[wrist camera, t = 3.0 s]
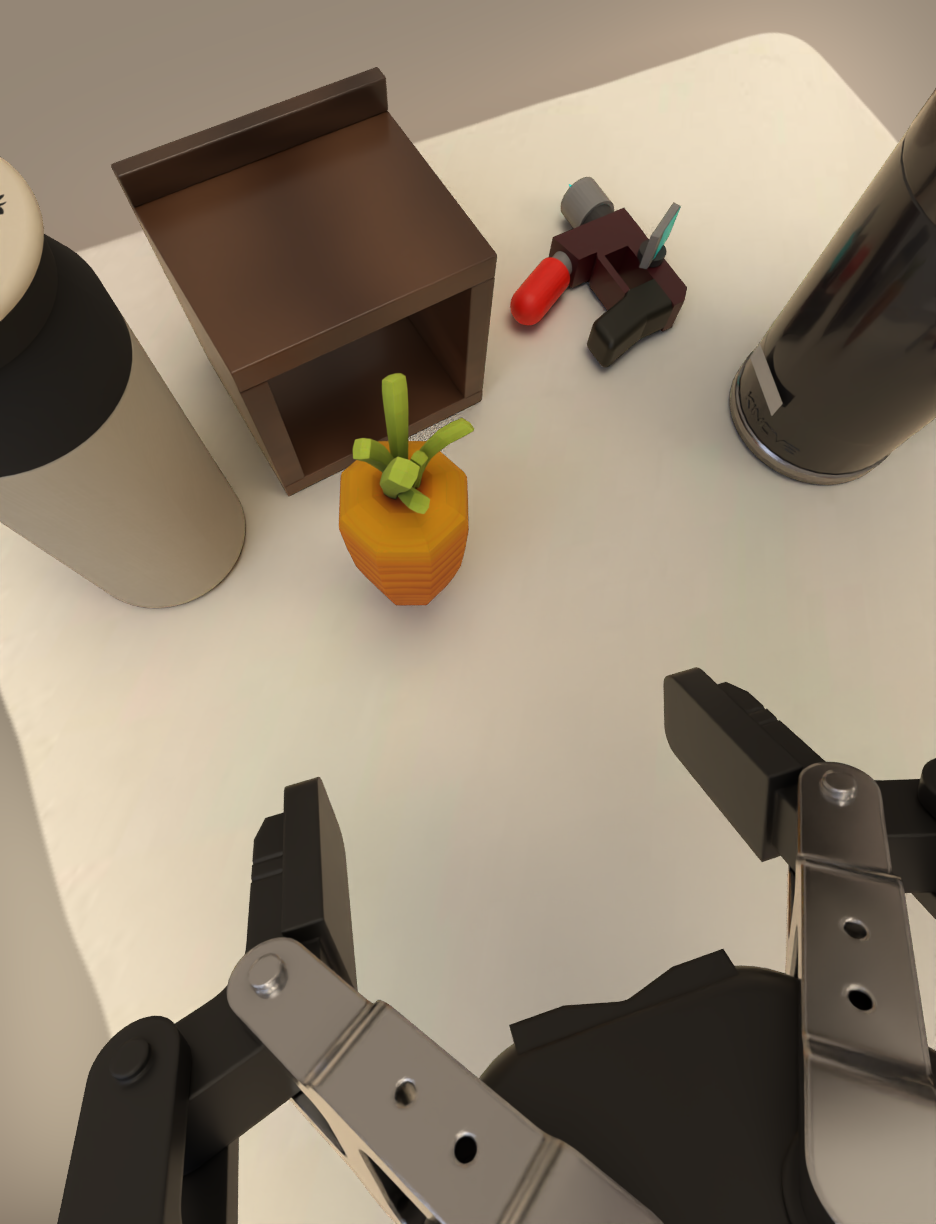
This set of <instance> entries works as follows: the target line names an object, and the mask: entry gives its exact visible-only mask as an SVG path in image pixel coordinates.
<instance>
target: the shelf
mask: <svg viewBox="0 0 936 1224" xmlns="http://www.w3.org/2000/svg"><path fill="white" fill-rule="evenodd" d="M387 110H388V103H387V88H386V78H385V76H384V75H383V73H382V72H381V71H380V70H379V68H377V67H375V68H373V69H370V70H367V71H365V72H362V73H359V74H356V75H353V76H351V77H348V78H345V79H343V80H340V81H337V82H334V83H332V84H329V85H326V86H323V87H321V88H318V89H315V90H312V91H310V92H307V93H305V94H302V95H299V96H296V97H293V98H291V99H288V100H285V101H282V102H280V103H277V104H274V105H272V106H269V107H266V108H263V109H260V110H258V111H255V112H252V113H250V114H247V115H244V116H242V117H239V118H236V119H234V120H231V121H228V122H225V123H222V124H220V125H217V126H214V127H211V128H209V129H206V130H203V131H201V132H198V133H195V134H192V135H189V136H187V137H184V138H181V139H179V140H176V141H173V142H170V143H168V144H165V145H162V146H159V147H157V148H154V149H151V150H148V151H146V152H143V153H140V154H138V155H135V156H132V157H129V158H127V159H124V160H121V161H118V162H116V163H113V164H112V165H111V167H112V170H113V171H114V173H115V175H116V177H117V179H118V181H119V183H120V185H121V187H122V189H123V191H124V193H125V195H126V197H127V199H128V201H129V203H130V205H131V207H132V209H133V211H134V213H135V215H136V217H137V219H138V221H139V223H140V225H141V227H142V229H143V231H144V233H145V235H146V237H147V239H148V241H149V243H150V245H151V247H152V249H153V251H154V253H155V255H156V257H157V259H158V261H159V263H160V265H161V266H162V268H163V270H164V272H165V274H166V276H167V278H168V280H169V282H170V284H171V286H172V288H173V290H174V292H175V294H176V296H177V298H178V300H179V302H180V304H181V306H182V308H183V310H184V312H185V314H186V316H187V318H188V320H189V322H190V324H191V326H192V328H193V330H194V332H195V334H196V336H197V338H198V340H199V342H200V344H201V346H202V348H203V350H204V352H205V353H206V355H207V357H208V359H209V361H210V363H211V364H212V366H213V368H214V370H215V371H216V373H217V375H218V376H219V378H220V380H221V382H222V383H223V385H224V387H225V388H226V390H227V392H228V394H229V395H230V397H231V399H232V400H233V402H234V404H235V406H236V407H237V409H238V411H239V412H240V414H241V416H242V418H243V419H244V421H245V423H246V424H247V426H248V428H249V430H250V431H251V433H252V435H253V436H254V438H255V440H256V442H257V443H258V445H259V447H260V448H261V450H262V452H263V454H264V455H265V457H266V459H267V460H268V462H269V464H270V466H271V467H272V469H273V471H274V473H275V474H276V476H277V478H278V479H279V481H280V483H281V485H282V486H283V488H284V490H285V491H286V493H287V495H288V496H290V495H292V494H294V493H296V492H298V491H301V490H303V489H305V488H307V487H309V486H311V485H313V484H315V483H317V482H319V481H321V480H323V479H325V478H327V477H329V476H331V475H333V474H335V473H337V472H339V471H341V470H343V469H345V468H347V467H349V466H350V465H351V464H352V463H354V462H355V461H356V459H353V446H354V442H355V440H356V439H360V438H366V439H372V440H375V441H377V442H378V441H388V434H387V427H386V420H385V412H384V404H383V396H382V380H383V379H384V378H385V377H387V376H388V375H392V374H395V373H401V374H403V375H404V376H406V382H407V389H408V437H409V436H411V435H413V434H415V433H417V432H419V431H421V430H423V429H425V428H427V427H429V426H431V425H433V424H435V423H437V422H439V421H441V420H443V419H445V418H447V417H449V416H451V415H453V414H455V413H457V412H459V411H461V410H463V409H465V408H467V407H469V406H471V405H474V404H476V403H478V402H480V401H481V398H482V388H483V379H484V370H485V361H486V352H487V343H488V334H489V325H490V316H491V306H492V297H493V288H494V279H495V278H494V276H495V269H496V260H497V254H496V253H495V251H494V250H493V249H492V247H491V246H490V245H489V243H488V242H487V241H486V239H485V238H484V237H483V236H482V234H481V233H480V232H479V230H478V229H477V228H476V226H475V225H474V224H473V222H472V221H471V220H470V218H469V217H468V216H467V215H466V213H465V212H464V211H463V209H462V208H461V207H460V205H459V204H458V203H457V201H456V200H455V199H454V197H453V196H452V195H451V193H450V192H449V191H448V190H447V188H446V187H445V186H444V184H443V183H442V182H441V180H440V179H439V178H438V176H437V175H436V174H435V172H434V171H433V170H432V169H431V167H430V166H429V165H428V163H427V162H426V161H425V159H424V158H423V157H422V155H421V154H420V153H419V151H418V150H417V149H416V148H415V146H414V145H413V144H412V142H411V141H410V140H409V138H408V137H407V136H406V134H405V133H404V132H403V131H402V129H401V128H400V127H399V125H398V124H397V123H396V121H395V120H394V119H393V117H392V116H391V115H390V113H389V112H388V111H387Z"/></svg>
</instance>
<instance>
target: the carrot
mask: <svg viewBox="0 0 936 1224" xmlns="http://www.w3.org/2000/svg"><path fill="white" fill-rule="evenodd" d="M382 396H383V404H384V412H385V420H386V427H387V434H388V441H378V442H377V441H375V440H372V439H366V438H360V439H356V440H355V442H354V446H353V459H356V461H355V462H354V463H352V464H351V465H350V466H349V467H348V468H347V469H345V470H344V471H343V472H342V474H341V481H340V507H339V530H340V532H341V535H342V537H343V540H344V542H345V544H346V547H347V549H348V551H349V553H350V555H351V557H352V559H353V561H354V563H355V565H356V567H357V568H358V569H359V570H360V571H361V572H362V573H363V574H364V575H365V576H366V577H367V578H368V579H369V580H370V581H371V582H372V583H373V584H374V585H375V586H376V587H377V588H378V589H379V590H380V591H381V592H382V593H383V594H385V595H386V596H387V597H388V598H389V599H390V600H391V601H392V602H393V603H394V604H395V605H427V604H428V603H429V602H430V601H431V600H432V599H433V598H434V597H435V596H436V595H437V594H438V593H439V592H441V591H442V590H443V589H444V588H445V587H446V586H447V585H448V583H449V582H450V581H451V580H452V578H453V577H454V576H455V574H456V573H457V571H458V569H459V568H460V566H461V563H462V559H463V555H464V551H465V547H466V541H467V535H468V530H469V528H468V490H467V476H466V475H465V473H464V472H463V471H462V470H461V469H460V468H458V467H457V466H456V465H455V464H454V463H453V462H452V461H451V460H449V459H448V458H447V457H446V456H445V455H444V454H443V453H441V452H440V450H442V449H443V448H445V447H446V446H447V445H449V444H450V443H452V442H454V441H456V440H458V439H460V438H462V437H464V436H466V435H467V434H469V433H471V432H473V431H474V428H473V426H472V425H471V423H469V422H468V421H466V420H465V419H463V418H460V419H458V420H456V421H453V422H451V423H449V424H448V425H446V426H444V427H442V428H441V429H439V430H438V431H437V432H436V433H435V434H434V435H433V436H432V437H431V438H429V439H428V440H427V441H408V389H407V382H406V376H404V375H403V374H401V373H395V374H392V375H388V376H387V377H385V378H384V379H383V380H382Z"/></svg>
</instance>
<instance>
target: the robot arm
mask: <svg viewBox="0 0 936 1224" xmlns="http://www.w3.org/2000/svg"><path fill="white" fill-rule="evenodd" d="M730 409H731V415H732V419H733V422H734V424H735V427H736V429H737V431H738V433H739V435H740V437H741V438H742V440H743V441H744V443H745V444H746V445H747V447H748V448H749V449H750V450H751V451H752V452H753V453H754V454H755V455H756V456H757V457H758V458H759V459H760V460H761V461H762V462H764V463H765V464H766V465H768V466H769V467H771V468H772V469H774V470H776V471H777V472H779V473H781V474H783V475H785V476H787V477H790V478H793V479H795V480H798V481H802V482H806V483H811V484H820V485H832V484H840V483H846V482H849V481H852V480H855V479H858V478H860V477H862V476H863V475H865V474H867V473H868V472H870V471H871V470H872V469H874V468H875V467H876V466H877V465H879V464H880V463H881V462H882V461H884V460H885V459H886V458H887V457H888V456H889V455H890V453H891V452H892V451H894V450H895V449H896V448H897V447H899V446H900V445H901V444H902V443H904V442H905V441H906V440H908V439H909V438H910V437H911V436H913V435H914V434H915V433H917V432H918V431H920V430H921V429H922V428H923V427H925V426H926V425H927V424H928V423H930V422H931V421H932V420H934V419H935V418H936V89H935V90H934V92H933V93H932V95H931V96H930V98H929V99H928V100H927V102H926V103H925V105H924V106H923V108H922V109H921V110H920V112H919V113H918V115H917V116H916V118H915V119H914V120H913V122H912V124H911V126H910V127H909V128H908V130H907V131H906V133H905V134H904V136H903V137H902V138H901V140H900V141H899V143H898V144H897V146H896V147H895V149H894V150H893V151H892V153H891V154H890V156H889V157H888V159H887V160H886V161H885V163H884V164H883V166H882V167H881V169H880V170H879V172H878V173H877V174H876V176H875V177H874V179H873V180H872V182H871V183H870V185H869V186H868V187H867V189H866V190H865V192H864V193H863V195H862V196H861V198H860V199H859V200H858V202H857V203H856V205H855V206H854V208H853V209H852V211H851V212H850V213H849V215H848V216H847V218H846V219H845V221H844V222H843V223H842V225H841V226H840V228H839V229H838V231H837V232H836V234H835V235H834V236H833V238H832V239H831V241H830V242H829V244H828V245H827V247H826V248H825V249H824V251H823V252H822V254H821V255H820V257H819V258H818V260H817V261H816V262H815V264H814V265H813V267H812V268H811V270H810V271H809V273H808V274H807V275H806V277H805V278H804V280H803V281H802V283H801V284H800V285H799V287H798V288H797V290H796V291H795V293H794V294H793V296H792V297H791V298H790V300H789V301H788V303H787V304H786V306H785V307H784V309H783V310H782V311H781V313H780V314H779V316H778V317H777V319H776V320H775V321H774V323H773V324H772V325H771V327H770V328H769V330H768V331H767V333H766V334H765V336H764V337H763V339H762V340H761V342H760V343H759V344H758V346H757V347H756V349H755V350H753V351H752V352H751V353H750V355H749V356H748V357H747V358H746V360H745V361H744V363H743V364H742V366H741V367H740V369H739V370H738V372H737V373H736V375H735V378H734V380H733V383H732V386H731V391H730ZM664 726H665V733H666V737H667V740H668V743H669V745H670V747H671V749H672V751H673V753H674V754H675V755H676V757H677V758H678V759H679V760H680V761H681V763H682V764H683V765H684V766H685V768H686V769H687V770H688V771H689V773H690V774H691V775H692V776H693V778H694V779H695V780H696V781H697V782H698V784H699V785H700V786H701V787H702V789H703V790H704V791H705V792H706V794H707V795H708V796H709V797H710V799H711V800H712V801H713V802H714V804H715V805H716V806H717V807H718V808H719V810H720V811H721V812H722V813H723V815H724V816H725V817H726V818H727V820H728V821H729V822H730V823H731V825H732V826H733V827H734V828H735V830H736V831H737V832H738V833H739V834H740V836H741V837H742V838H743V839H744V841H745V842H746V843H747V844H748V846H749V847H750V848H751V849H752V851H753V852H754V853H755V854H756V856H757V857H758V858H759V859H760V860H761V862H764V861H766V860H769V859H772V858H775V857H778V856H782V858H783V859H784V860H785V861H786V862H787V864H788V874H787V935H786V966H785V973H782V972H778V971H775V970H771V969H767V968H761V967H755V966H734V965H733V963H732V962H731V960H730V959H729V957H728V956H727V954H726V952H725V951H724V949H721V950H718V951H716V952H713V953H710V954H707V955H704V956H701V957H699V958H696V959H693V960H690V961H687V962H685V963H682V964H679V965H676V966H673V967H672V968H670V969H669V970H667V971H666V972H665V973H663V974H662V975H661V976H659V977H658V978H657V979H655V980H654V981H653V982H651V983H650V984H648V985H647V986H646V987H644V988H643V989H642V990H640V991H639V992H638V993H636V994H635V995H634V996H632V997H631V998H629V999H627V1000H625V1001H620V1002H608V1003H594V1004H580V1005H566V1006H561V1007H559V1008H556V1009H553V1010H550V1011H547V1012H545V1013H542V1014H539V1015H536V1016H533V1017H531V1018H528V1019H525V1020H522V1021H519V1022H517V1023H514V1024H511V1025H509V1026H510V1030H511V1034H512V1038H513V1042H514V1044H512V1045H511V1046H510V1047H508V1048H507V1049H506V1050H504V1051H503V1052H502V1053H501V1054H500V1055H499V1056H498V1057H497V1058H496V1059H495V1060H494V1061H492V1063H491V1064H490V1065H489V1066H488V1068H487V1069H486V1070H485V1071H484V1072H483V1074H482V1075H481V1077H480V1078H478V1077H476V1076H475V1075H474V1074H473V1073H472V1072H470V1071H469V1070H468V1069H467V1068H465V1067H464V1066H463V1065H462V1064H461V1063H459V1062H458V1061H457V1060H456V1059H455V1058H453V1057H452V1056H451V1055H450V1054H449V1053H447V1052H446V1051H445V1050H444V1049H443V1048H441V1047H440V1046H439V1045H438V1044H436V1043H435V1042H434V1041H433V1040H432V1039H430V1038H429V1037H428V1036H427V1035H426V1034H424V1033H423V1032H422V1031H421V1030H420V1029H418V1028H417V1027H416V1026H415V1025H414V1024H412V1023H411V1022H410V1021H409V1020H407V1019H406V1018H405V1017H404V1016H403V1015H401V1014H400V1013H399V1012H398V1011H397V1010H395V1009H394V1008H393V1007H392V1006H390V1005H389V1004H387V1003H386V1002H384V1001H381V1000H377V1001H376V1002H375V1003H371V1002H370V1001H368V1000H367V999H366V998H364V997H363V996H362V995H361V994H360V993H359V992H358V990H357V979H356V967H355V956H354V945H353V933H352V922H351V911H350V900H349V888H348V877H347V866H346V855H345V848H344V843H343V838H342V834H341V831H340V827H339V824H338V822H337V819H336V817H335V814H334V811H333V809H332V806H331V803H330V801H329V798H328V795H327V793H326V790H325V787H324V785H323V782H322V780H321V778H320V777H317V778H313V779H310V780H306V781H303V782H300V783H296V784H293V785H289V786H286V787H285V789H284V813H281V814H277V815H274V816H271V817H267V818H265V820H264V822H263V824H262V826H261V827H260V829H259V831H258V833H257V835H256V837H255V839H254V848H253V865H252V875H251V879H252V883H251V889H250V902H249V916H248V929H247V943H246V951H245V955H244V956H243V957H242V958H241V959H240V961H239V962H238V963H237V965H236V966H235V968H234V970H233V971H232V973H231V976H230V978H229V981H228V985H227V986H226V987H225V988H224V990H223V991H221V992H220V993H219V994H218V995H217V996H216V997H214V998H213V999H212V1000H210V1001H209V1002H207V1003H206V1004H204V1005H203V1006H201V1007H200V1008H198V1009H197V1010H195V1011H194V1012H192V1013H191V1014H189V1015H188V1016H186V1017H184V1018H183V1019H181V1020H180V1021H178V1022H177V1023H175V1024H174V1023H173V1022H172V1021H171V1020H169V1019H168V1018H166V1017H162V1016H150V1017H145V1018H142V1019H139V1020H137V1021H135V1022H133V1023H131V1024H129V1025H128V1026H126V1027H124V1028H123V1029H122V1030H121V1031H119V1032H118V1033H117V1034H116V1035H115V1036H114V1037H113V1038H111V1039H110V1040H109V1042H108V1043H107V1044H106V1045H105V1046H104V1047H103V1049H102V1050H101V1052H100V1053H99V1054H98V1056H97V1058H96V1059H95V1061H94V1063H93V1065H92V1067H91V1070H90V1072H89V1075H88V1079H87V1083H86V1088H85V1092H84V1097H83V1102H82V1107H81V1112H80V1117H79V1121H78V1126H77V1131H76V1136H75V1141H74V1146H73V1150H72V1155H71V1160H70V1165H69V1170H68V1174H67V1179H66V1184H65V1189H64V1194H63V1199H62V1204H61V1208H60V1213H59V1218H58V1223H57V1224H238V1155H239V1137H240V1136H241V1135H242V1134H244V1133H245V1132H246V1131H248V1130H249V1129H250V1128H252V1127H253V1126H254V1125H256V1124H257V1123H258V1122H260V1121H261V1120H262V1119H264V1118H265V1117H266V1116H268V1115H269V1114H270V1113H272V1112H273V1111H274V1110H276V1109H277V1108H278V1107H279V1106H281V1105H282V1104H283V1103H285V1102H286V1101H287V1100H290V1101H291V1102H292V1103H293V1105H294V1106H295V1107H296V1108H297V1109H298V1110H299V1111H300V1112H301V1113H302V1115H303V1116H304V1117H305V1118H306V1119H307V1120H308V1121H309V1122H310V1123H311V1125H312V1126H313V1127H314V1128H315V1129H316V1130H317V1131H318V1132H319V1133H320V1135H321V1136H322V1137H323V1138H324V1139H325V1140H326V1141H327V1142H328V1144H329V1145H330V1146H331V1147H332V1148H333V1149H334V1150H335V1151H336V1152H337V1154H338V1155H339V1156H340V1157H341V1158H342V1159H343V1160H344V1161H345V1162H346V1164H347V1165H348V1166H349V1167H350V1168H351V1169H352V1171H353V1172H354V1173H355V1174H356V1176H357V1177H358V1178H359V1179H360V1181H361V1182H362V1183H363V1185H364V1186H365V1188H366V1189H367V1190H368V1192H369V1193H370V1194H371V1195H372V1197H373V1198H374V1199H375V1200H376V1202H377V1203H378V1204H379V1205H380V1207H381V1208H382V1209H383V1210H384V1211H385V1212H386V1214H387V1215H388V1216H389V1217H390V1218H391V1219H392V1220H393V1221H394V1223H395V1224H936V1051H935V1050H934V1049H932V1048H930V1047H928V1044H927V1037H926V1031H925V1024H924V1018H923V1011H922V1004H921V998H920V991H919V985H918V978H917V972H916V965H915V958H914V952H913V945H912V939H911V932H910V925H909V919H908V912H907V906H906V899H905V893H912V894H913V895H914V897H915V898H916V899H917V900H918V901H919V902H920V903H921V904H922V905H923V906H924V907H925V908H926V909H927V911H928V912H929V913H930V914H931V915H932V916H933V917H934V918H935V919H936V758H935V759H933V760H931V761H929V762H927V763H926V764H925V765H924V767H923V770H922V774H921V778H920V779H908V780H883V781H882V780H873V779H872V778H871V777H870V776H869V775H867V774H866V773H865V772H863V771H861V770H859V769H857V768H855V767H852V766H850V765H846V764H842V763H837V762H825V761H824V760H823V759H822V758H821V757H820V756H819V755H818V754H817V753H815V752H814V751H813V750H812V749H811V748H810V747H809V746H808V745H807V744H805V743H804V742H803V741H802V740H801V739H800V738H799V737H798V736H797V735H795V734H794V733H793V732H792V731H791V730H790V729H789V728H788V727H787V726H785V725H784V724H783V723H782V722H781V721H780V720H779V721H778V720H777V718H776V717H775V716H774V715H773V714H772V713H771V712H770V711H769V710H768V709H764V706H763V705H762V704H761V703H760V702H759V701H758V700H756V699H755V698H754V697H753V696H752V695H751V694H750V693H749V692H747V691H745V690H743V689H741V688H738V687H736V686H734V685H732V684H730V683H727V682H724V683H721V684H716V683H715V682H714V681H713V680H712V679H711V678H710V677H709V676H708V675H707V674H706V673H705V672H704V671H703V670H701V669H700V668H697V667H696V668H692V669H689V670H685V671H682V672H678V673H675V674H672V675H668V676H666V677H665V679H664Z"/></svg>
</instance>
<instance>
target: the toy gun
mask: <svg viewBox="0 0 936 1224" xmlns="http://www.w3.org/2000/svg"><path fill="white" fill-rule="evenodd" d="M569 186H570V188H569V189H568V191H567V192H566V193H565V195H564V197H563V199H562V202H561V212H562V214H563V215H564V216H565V218H566V219H567V220H568V222H569V223H570V224H571V225H572V227H573V228H574V229H571V230H569V231H567V232H564V233H562V234H559V235H557V236H555V237H553V239H552V244H551V249H550V254H549V258H545V259H544V260H542V261H541V263H540V264H539V265H538V266H537V267H536V268H535V270H534V271H533V272H532V273H531V274H530V276H529V277H528V278H527V279H526V280H525V281H524V283H523V284H522V285H521V286H520V287H519V289H518V290H517V291H516V292H515V293H514V295H513V297H512V299H511V304H510V308H511V313H512V315H513V317H514V318H515V320H516V321H517V322H519V323H520V324H523V325H533V324H536V323H537V322H539V321H540V320H541V319H542V318H543V316H544V315H545V314H546V313H547V312H548V310H549V309H550V308H551V307H552V305H553V304H554V303H555V302H556V301H557V299H558V298H559V297H560V296H561V294H562V293H563V292H564V291H565V290H566V288H567V287H568V285H569V286H570V287H571V288H573V287H575V286H578V285H580V284H582V283H584V282H587V281H589V286H590V288H591V289H592V290H593V292H594V293H595V294H596V296H597V297H598V298H599V300H600V301H601V302H602V304H603V305H604V306H605V308H606V309H607V310H608V311H607V312H605V313H604V314H603V315H602V316H601V317H599V318H598V319H597V320H596V321H595V322H594V324H593V326H592V329H591V332H590V336H589V339H588V342H587V346H588V348H589V350H590V351H591V352H592V354H593V355H594V357H595V358H596V359H597V361H598V362H599V363H600V365H601V366H602V367H608V366H609V365H610V364H612V363H613V362H614V361H615V360H616V359H617V358H618V357H620V356H621V355H622V354H623V353H624V352H625V351H627V350H628V349H629V348H630V347H631V346H632V345H633V344H635V343H636V342H637V341H638V340H639V339H641V338H643V337H645V336H647V335H650V334H652V333H654V332H656V331H658V330H660V329H661V331H665V330H667V329H669V328H671V327H672V325H673V323H674V321H675V319H676V317H677V315H678V313H679V311H680V309H681V307H682V304H683V302H684V300H685V295H686V290H687V287H686V286H685V284H684V283H683V282H682V281H681V279H680V278H679V277H678V275H677V274H676V273H675V272H674V270H673V269H672V268H671V267H670V265H669V264H668V263H667V262H666V260H665V259H664V258H665V255H666V248H665V246H664V245H663V244H664V243H665V241H666V240H667V238H668V237H669V235H670V232H671V230H672V227H673V225H674V222H675V220H676V217H677V215H678V212H679V210H680V205H678V204H676V203H674V202H673V204H672V205H671V207H670V208H669V210H668V211H667V213H666V214H665V216H664V217H663V219H662V220H661V222H660V223H659V225H658V226H657V228H656V229H655V231H654V232H653V233H652V235H651V237H650V240H649V239H648V238H647V237H646V235H645V234H644V233H643V231H642V230H641V228H640V227H639V226H638V225H637V223H636V222H635V221H634V220H633V218H632V217H631V216H630V215H629V213H628V212H627V211H626V210H625V208H622V209H620V210H617V211H615V212H614V206H613V203H612V202H611V201H610V200H609V198H608V197H607V196H606V194H605V193H604V192H603V191H602V189H601V188H600V187H599V186H598V184H597V183H596V182H595V181H594V179H593V178H591V177H585V178H582V179H580V180H578V181H577V182H575V183H574V184H573V185H570V184H569Z"/></svg>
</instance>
